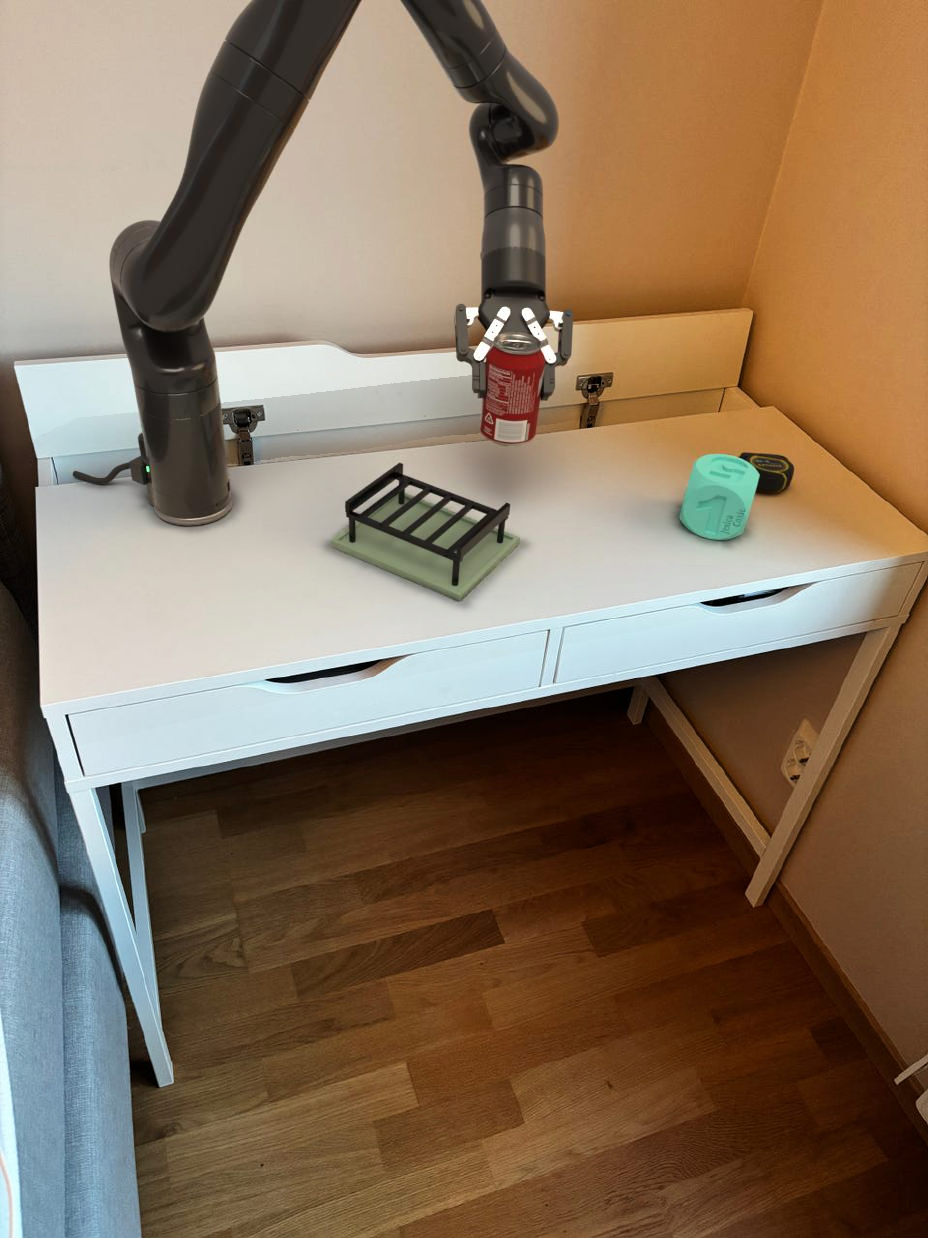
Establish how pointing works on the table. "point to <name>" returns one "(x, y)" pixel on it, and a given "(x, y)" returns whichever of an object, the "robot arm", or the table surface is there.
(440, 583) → the drip tray
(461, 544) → the drying rack
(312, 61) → the robot arm
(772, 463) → the tape measure
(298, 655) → the table surface
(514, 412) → the soda can
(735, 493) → the decorative dice
